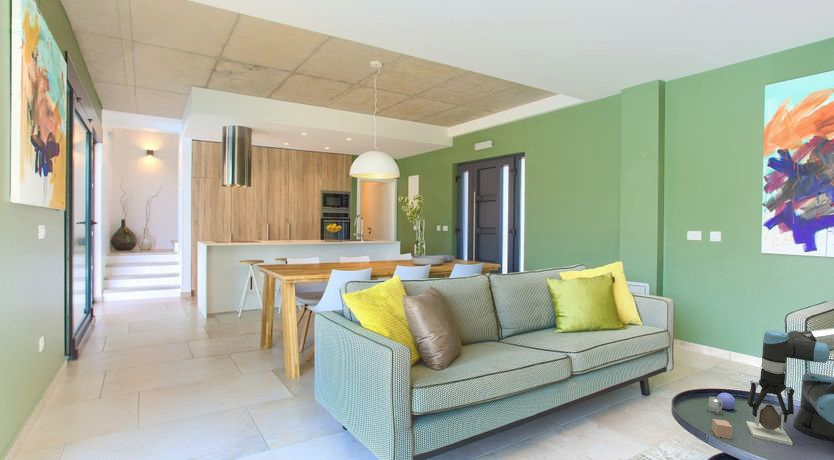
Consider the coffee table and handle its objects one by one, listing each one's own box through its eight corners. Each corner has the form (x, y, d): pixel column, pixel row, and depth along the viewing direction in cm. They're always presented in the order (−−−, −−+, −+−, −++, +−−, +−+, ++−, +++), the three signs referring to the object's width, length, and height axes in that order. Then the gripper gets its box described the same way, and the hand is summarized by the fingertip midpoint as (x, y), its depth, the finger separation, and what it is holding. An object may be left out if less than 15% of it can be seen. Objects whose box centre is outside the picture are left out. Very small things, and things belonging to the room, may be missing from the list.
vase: (783, 432, 171) (785, 410, 171) (763, 430, 173) (765, 408, 172) (773, 424, 178) (774, 403, 177) (753, 422, 179) (755, 401, 179)
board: (782, 431, 178) (782, 428, 178) (792, 445, 167) (792, 442, 167) (746, 423, 183) (746, 421, 183) (753, 437, 173) (753, 434, 173)
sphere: (730, 413, 192) (731, 398, 192) (712, 406, 199) (714, 391, 198) (738, 410, 196) (739, 395, 196) (721, 403, 202) (722, 389, 202)
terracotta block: (726, 433, 175) (727, 420, 175) (731, 439, 171) (732, 426, 170) (711, 430, 177) (712, 418, 177) (716, 437, 172) (717, 424, 172)
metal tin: (720, 411, 194) (721, 398, 194) (722, 416, 190) (723, 402, 189) (707, 408, 196) (708, 395, 196) (709, 413, 192) (710, 400, 192)
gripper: (802, 372, 173) (797, 429, 174) (740, 362, 182) (736, 417, 183) (808, 378, 166) (803, 437, 168) (744, 368, 175) (740, 424, 176)
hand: (768, 426), depth 175 cm, fingers closed on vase, 7 cm apart
